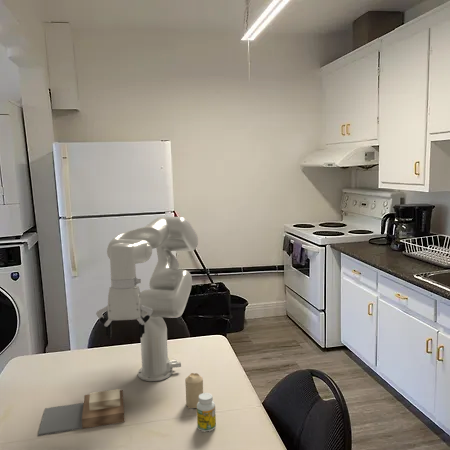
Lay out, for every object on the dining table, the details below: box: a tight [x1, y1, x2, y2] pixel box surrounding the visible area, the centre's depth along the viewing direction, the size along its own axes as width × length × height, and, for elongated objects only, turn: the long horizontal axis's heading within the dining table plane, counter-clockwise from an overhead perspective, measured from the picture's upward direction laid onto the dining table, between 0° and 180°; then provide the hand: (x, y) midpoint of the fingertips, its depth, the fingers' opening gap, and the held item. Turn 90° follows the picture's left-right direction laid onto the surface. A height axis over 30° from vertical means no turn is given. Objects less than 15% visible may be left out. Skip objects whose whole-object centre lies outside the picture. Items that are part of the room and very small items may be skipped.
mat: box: [37, 402, 84, 437], centre depth 132 cm, size 12×14×1 cm
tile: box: [89, 388, 121, 411], centre depth 135 cm, size 9×6×2 cm, turn 105°
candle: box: [184, 372, 204, 409], centre depth 138 cm, size 6×6×10 cm
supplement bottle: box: [196, 392, 217, 432], centre depth 126 cm, size 5×5×10 cm
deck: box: [81, 389, 126, 430], centre depth 135 cm, size 12×14×3 cm
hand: (125, 336), depth 137 cm, fingers open, 9 cm apart
